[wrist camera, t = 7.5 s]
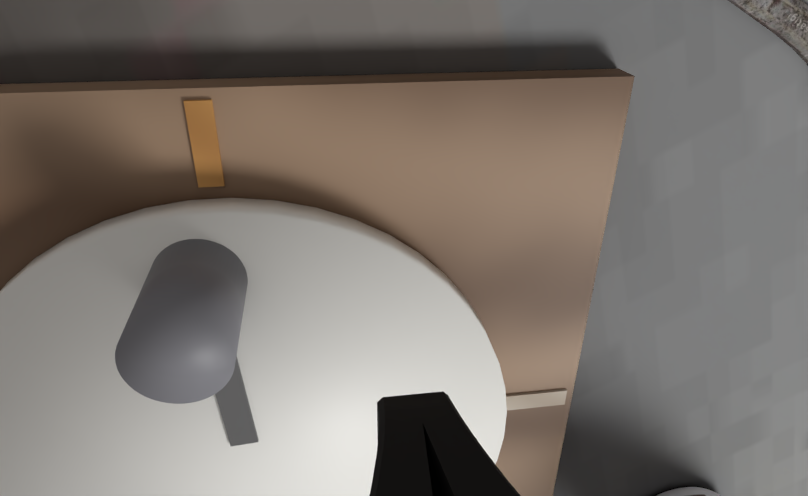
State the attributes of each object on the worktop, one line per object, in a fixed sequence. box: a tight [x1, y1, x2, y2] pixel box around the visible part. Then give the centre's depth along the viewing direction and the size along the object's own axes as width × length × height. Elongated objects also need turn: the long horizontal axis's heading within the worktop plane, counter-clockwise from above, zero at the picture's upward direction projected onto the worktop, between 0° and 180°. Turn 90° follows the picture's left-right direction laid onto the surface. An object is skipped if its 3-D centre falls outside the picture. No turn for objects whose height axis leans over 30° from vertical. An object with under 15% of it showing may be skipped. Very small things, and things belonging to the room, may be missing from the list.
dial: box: [0, 198, 507, 496], centre depth 19 cm, size 18×18×4 cm
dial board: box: [0, 69, 634, 496], centre depth 21 cm, size 24×24×1 cm
